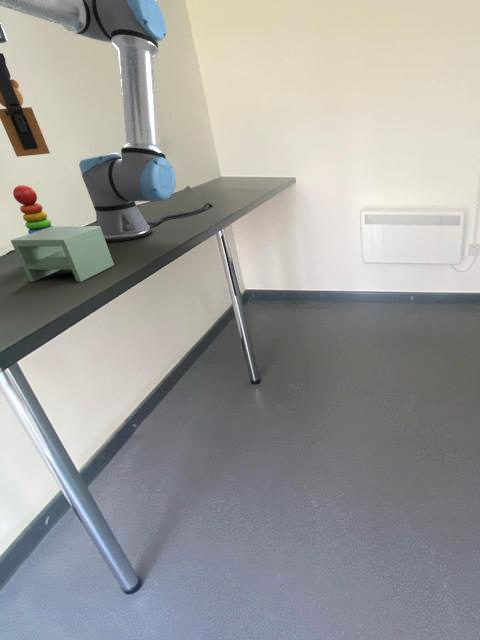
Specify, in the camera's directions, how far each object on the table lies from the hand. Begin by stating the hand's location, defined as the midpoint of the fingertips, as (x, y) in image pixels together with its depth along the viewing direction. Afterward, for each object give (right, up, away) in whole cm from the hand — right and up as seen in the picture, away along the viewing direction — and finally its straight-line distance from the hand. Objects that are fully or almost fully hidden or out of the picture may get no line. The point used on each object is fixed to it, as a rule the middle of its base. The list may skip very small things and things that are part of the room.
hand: (30, 147), depth 109 cm
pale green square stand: (+1, -25, +14) cm, 28 cm away
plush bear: (0, -1, +1) cm, 1 cm away
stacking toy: (-15, -16, +29) cm, 36 cm away
